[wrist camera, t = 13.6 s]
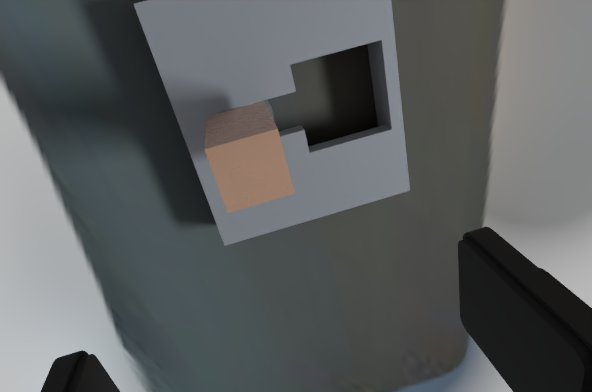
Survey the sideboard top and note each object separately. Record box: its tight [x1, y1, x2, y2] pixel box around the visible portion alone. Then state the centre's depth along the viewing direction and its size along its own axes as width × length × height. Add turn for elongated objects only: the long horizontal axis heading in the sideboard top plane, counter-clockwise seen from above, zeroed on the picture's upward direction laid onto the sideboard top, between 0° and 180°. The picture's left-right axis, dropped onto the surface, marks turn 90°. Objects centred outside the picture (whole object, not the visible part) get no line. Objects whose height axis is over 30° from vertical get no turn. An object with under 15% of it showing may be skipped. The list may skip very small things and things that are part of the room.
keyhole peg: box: [205, 100, 295, 213], centre depth 25 cm, size 5×5×11 cm
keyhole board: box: [134, 0, 410, 245], centre depth 28 cm, size 17×15×3 cm
